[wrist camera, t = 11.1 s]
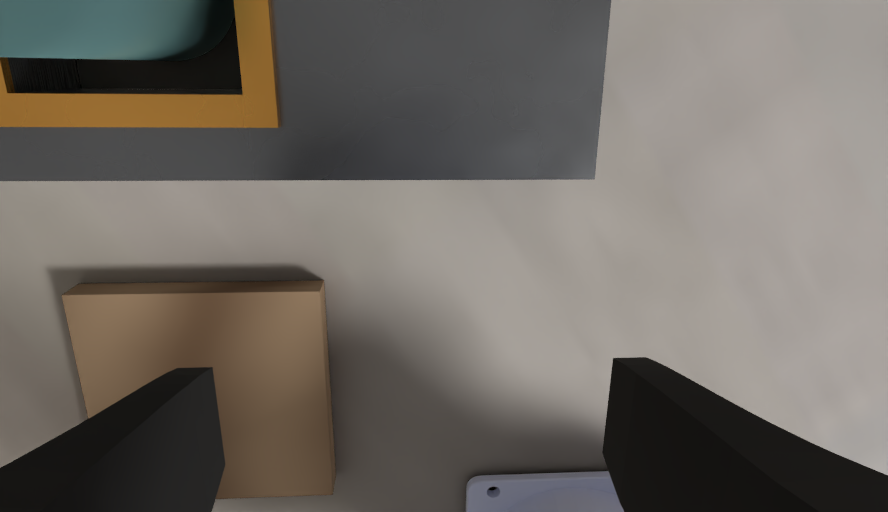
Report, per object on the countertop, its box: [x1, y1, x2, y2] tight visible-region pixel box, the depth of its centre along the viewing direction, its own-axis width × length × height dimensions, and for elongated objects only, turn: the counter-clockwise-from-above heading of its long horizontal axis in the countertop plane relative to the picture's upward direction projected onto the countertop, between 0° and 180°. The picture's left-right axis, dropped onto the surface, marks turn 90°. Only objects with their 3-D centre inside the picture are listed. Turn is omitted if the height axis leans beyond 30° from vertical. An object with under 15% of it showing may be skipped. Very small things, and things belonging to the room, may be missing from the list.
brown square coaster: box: [62, 280, 336, 499], centre depth 20 cm, size 8×8×1 cm
